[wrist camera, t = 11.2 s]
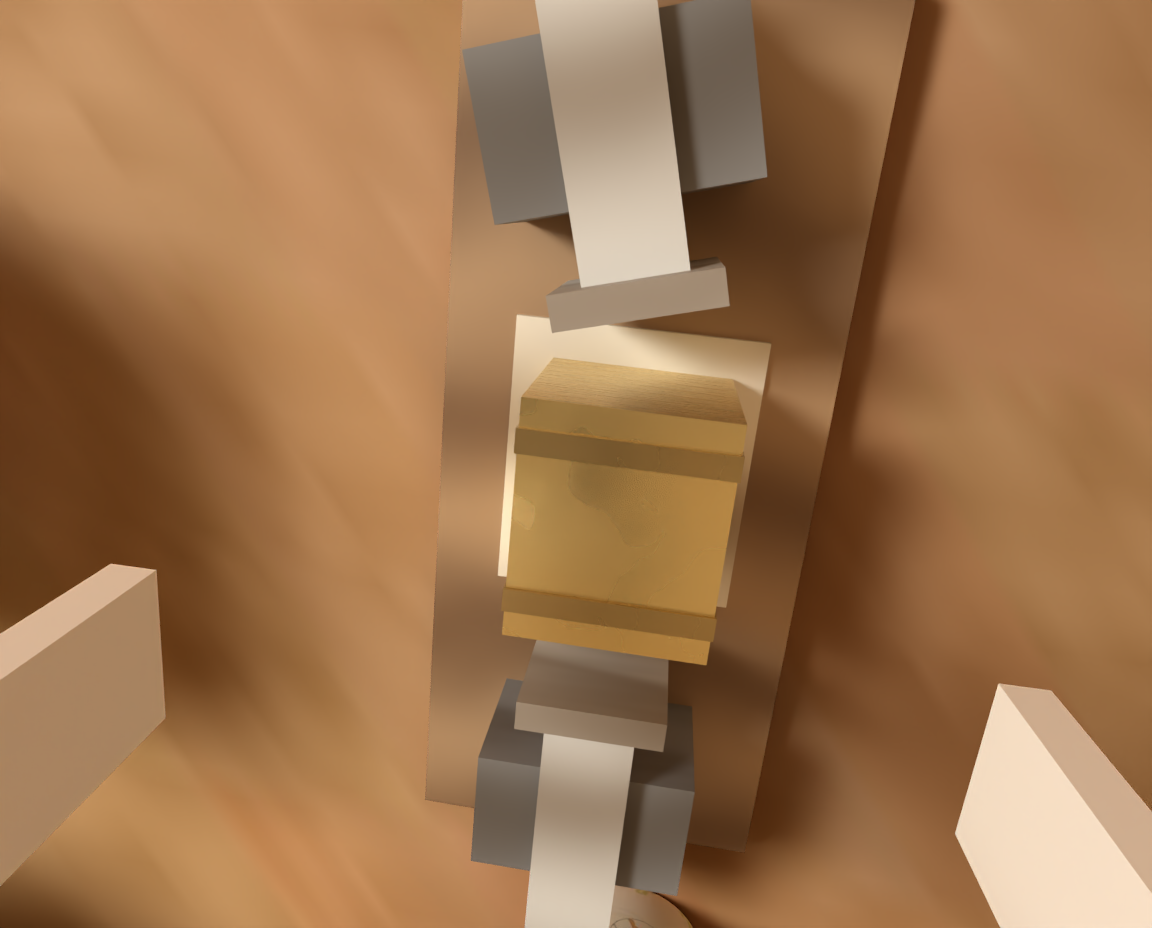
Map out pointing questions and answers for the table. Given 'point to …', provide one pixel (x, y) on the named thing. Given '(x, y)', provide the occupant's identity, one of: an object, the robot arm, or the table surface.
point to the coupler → (622, 508)
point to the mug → (644, 910)
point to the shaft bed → (652, 341)
